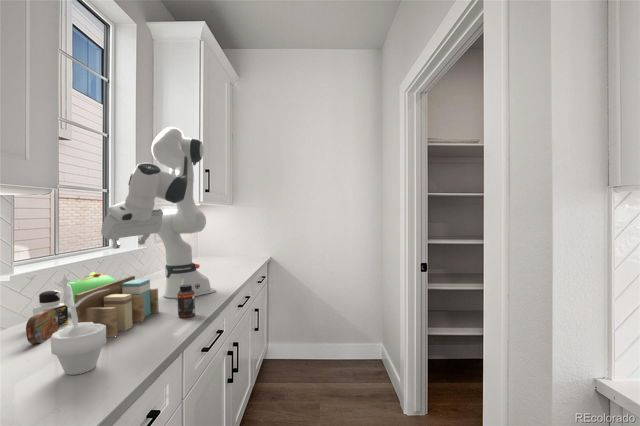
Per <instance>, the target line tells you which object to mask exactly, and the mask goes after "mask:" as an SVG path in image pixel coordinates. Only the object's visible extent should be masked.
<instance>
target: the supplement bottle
mask: <svg viewBox="0 0 640 426" xmlns="http://www.w3.org/2000/svg"><path fill="white" fill-rule="evenodd" d="M191 288H192V287H191V285H190V284H186V285H181V286H180V291H179V292H178V294H177V297H178V298H176V299H177V316H178V318H183V319H184V318H192V317H194V316H195V315H196V304H195V302H196V300H195V299H196V298H195V297H196V296H195V295H194V291H193V290H192V289H191Z"/></svg>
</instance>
